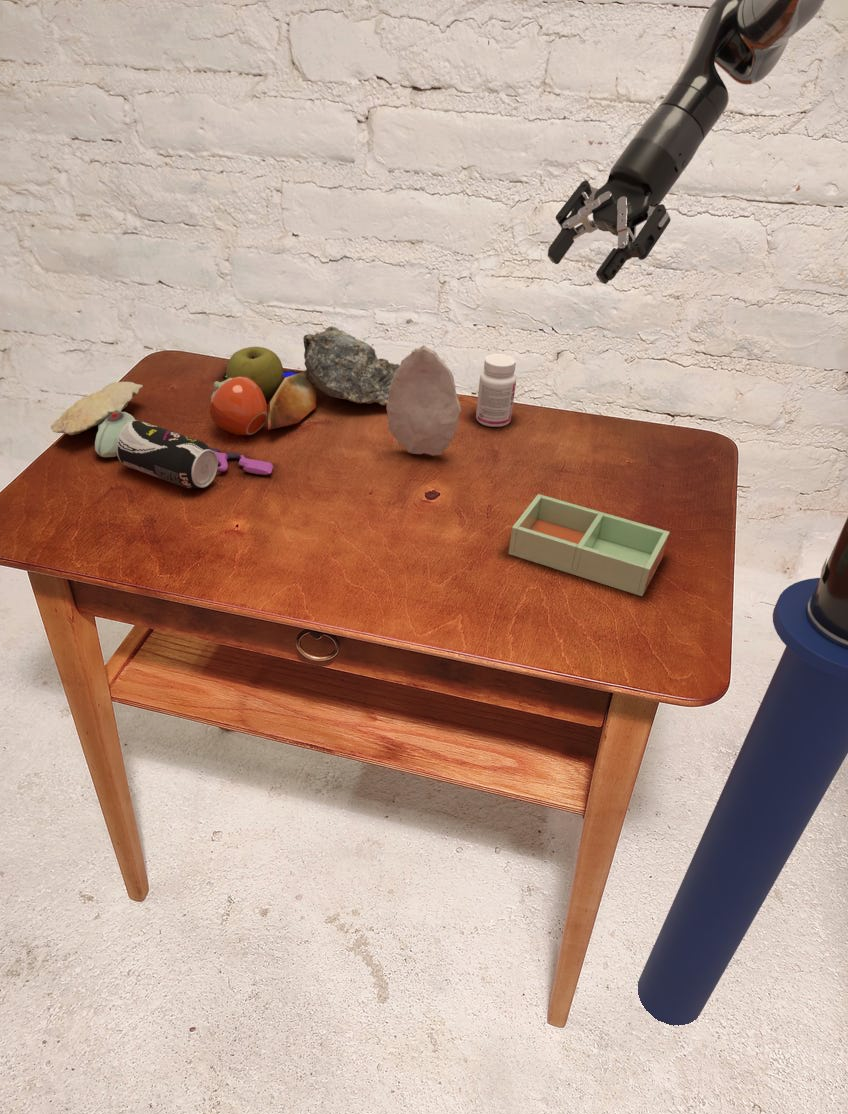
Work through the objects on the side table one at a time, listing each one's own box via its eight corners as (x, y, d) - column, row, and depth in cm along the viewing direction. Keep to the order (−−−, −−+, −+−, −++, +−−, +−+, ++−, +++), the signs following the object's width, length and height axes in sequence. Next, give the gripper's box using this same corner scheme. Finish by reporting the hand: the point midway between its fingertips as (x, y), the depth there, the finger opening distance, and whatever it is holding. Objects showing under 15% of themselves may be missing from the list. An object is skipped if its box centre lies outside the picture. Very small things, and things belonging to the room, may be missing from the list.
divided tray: (662, 558, 95) (670, 531, 92) (642, 596, 90) (650, 569, 87) (533, 519, 100) (538, 493, 98) (508, 554, 95) (512, 527, 93)
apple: (220, 411, 118) (214, 361, 114) (243, 386, 124) (238, 337, 120) (272, 419, 117) (269, 368, 112) (293, 394, 123) (291, 344, 118)
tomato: (283, 412, 115) (243, 372, 117) (269, 392, 108) (225, 350, 109) (244, 452, 116) (204, 412, 117) (227, 435, 108) (184, 393, 110)
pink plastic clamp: (280, 462, 107) (258, 478, 104) (280, 469, 108) (258, 485, 104) (144, 426, 114) (119, 439, 110) (145, 432, 115) (120, 446, 111)
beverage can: (147, 417, 108) (224, 443, 103) (142, 463, 110) (218, 490, 106) (113, 419, 103) (193, 446, 98) (109, 466, 105) (187, 495, 101)
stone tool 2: (457, 454, 111) (468, 338, 101) (455, 467, 109) (466, 350, 99) (386, 447, 112) (389, 332, 102) (382, 459, 110) (385, 343, 100)
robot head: (129, 471, 107) (161, 435, 110) (114, 446, 104) (147, 409, 107) (84, 460, 111) (116, 425, 114) (67, 435, 108) (101, 400, 111)
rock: (409, 337, 114) (357, 378, 110) (415, 398, 122) (367, 439, 118) (331, 303, 120) (280, 341, 117) (342, 363, 128) (294, 401, 125)
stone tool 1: (91, 450, 109) (159, 398, 119) (79, 419, 106) (150, 369, 116) (41, 447, 112) (112, 397, 122) (28, 417, 110) (101, 369, 120)
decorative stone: (256, 393, 109) (239, 401, 111) (276, 436, 111) (259, 442, 113) (313, 363, 120) (296, 370, 121) (330, 403, 121) (314, 409, 123)
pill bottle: (516, 426, 117) (524, 365, 111) (482, 429, 116) (489, 369, 110) (503, 409, 120) (510, 350, 115) (470, 413, 120) (476, 353, 114)
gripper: (602, 125, 111) (524, 236, 113) (694, 148, 102) (607, 268, 105) (622, 165, 116) (547, 270, 119) (710, 191, 108) (627, 303, 110)
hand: (575, 269), depth 112 cm, fingers open, 8 cm apart
